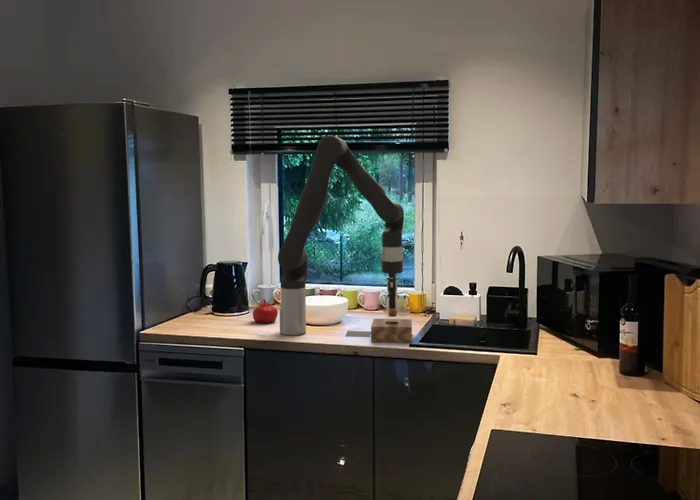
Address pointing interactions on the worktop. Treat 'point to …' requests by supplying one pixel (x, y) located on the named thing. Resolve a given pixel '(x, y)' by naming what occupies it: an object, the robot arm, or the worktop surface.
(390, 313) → the peg
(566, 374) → the worktop surface
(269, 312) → the pomegranate
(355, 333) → the mat
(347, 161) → the robot arm
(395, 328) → the hole block
